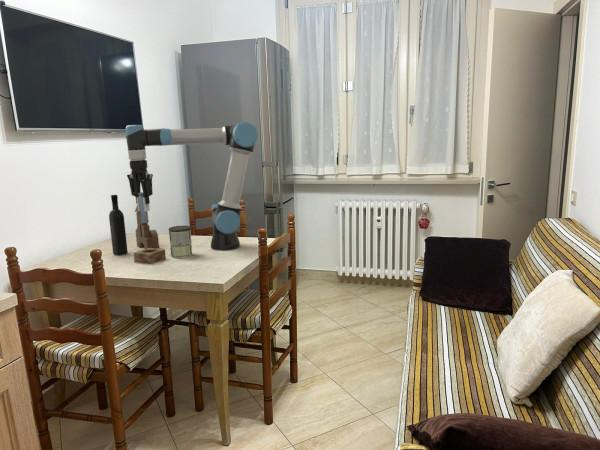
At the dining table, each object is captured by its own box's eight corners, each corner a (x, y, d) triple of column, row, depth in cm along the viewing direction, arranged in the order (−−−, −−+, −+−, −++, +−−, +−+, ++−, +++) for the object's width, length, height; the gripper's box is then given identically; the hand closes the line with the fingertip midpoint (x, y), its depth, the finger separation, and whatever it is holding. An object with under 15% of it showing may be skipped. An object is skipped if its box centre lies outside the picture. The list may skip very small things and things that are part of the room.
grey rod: (150, 221, 202) (146, 192, 200) (145, 223, 200) (141, 193, 197) (145, 221, 204) (141, 192, 201) (140, 223, 201) (136, 193, 198)
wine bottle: (122, 251, 223) (116, 194, 217) (128, 253, 219) (122, 194, 214) (112, 254, 219) (105, 195, 213) (118, 255, 215) (111, 196, 210)
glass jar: (167, 255, 212) (164, 227, 210) (185, 251, 220) (183, 224, 217) (177, 259, 205) (175, 230, 203) (196, 255, 212) (194, 227, 210)
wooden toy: (160, 248, 229) (155, 201, 224) (147, 250, 225) (143, 202, 220) (147, 243, 240) (143, 199, 235) (135, 245, 236) (130, 200, 231)
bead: (165, 258, 208) (164, 249, 207) (151, 263, 199) (150, 254, 198) (149, 256, 212) (148, 247, 211) (134, 262, 203) (133, 252, 202)
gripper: (157, 158, 196) (163, 209, 201) (130, 159, 202) (136, 209, 207) (145, 160, 189) (151, 212, 194) (118, 160, 196) (124, 211, 200)
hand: (143, 210), depth 200 cm, fingers closed on grey rod, 3 cm apart
